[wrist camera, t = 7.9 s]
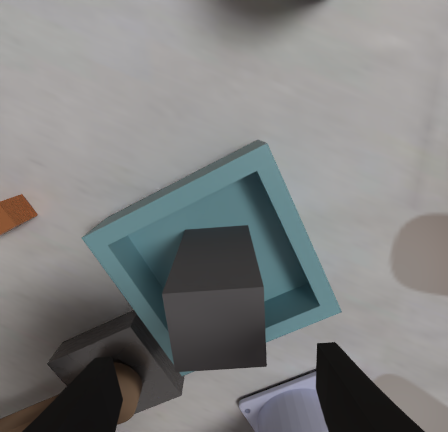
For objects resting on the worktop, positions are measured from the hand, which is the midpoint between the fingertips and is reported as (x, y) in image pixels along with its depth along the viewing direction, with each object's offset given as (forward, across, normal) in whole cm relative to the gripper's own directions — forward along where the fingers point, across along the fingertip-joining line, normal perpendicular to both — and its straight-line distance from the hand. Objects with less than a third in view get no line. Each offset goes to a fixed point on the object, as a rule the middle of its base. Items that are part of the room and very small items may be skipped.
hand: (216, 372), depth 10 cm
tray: (+10, 0, 0) cm, 10 cm away
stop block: (+9, 0, 0) cm, 9 cm away
